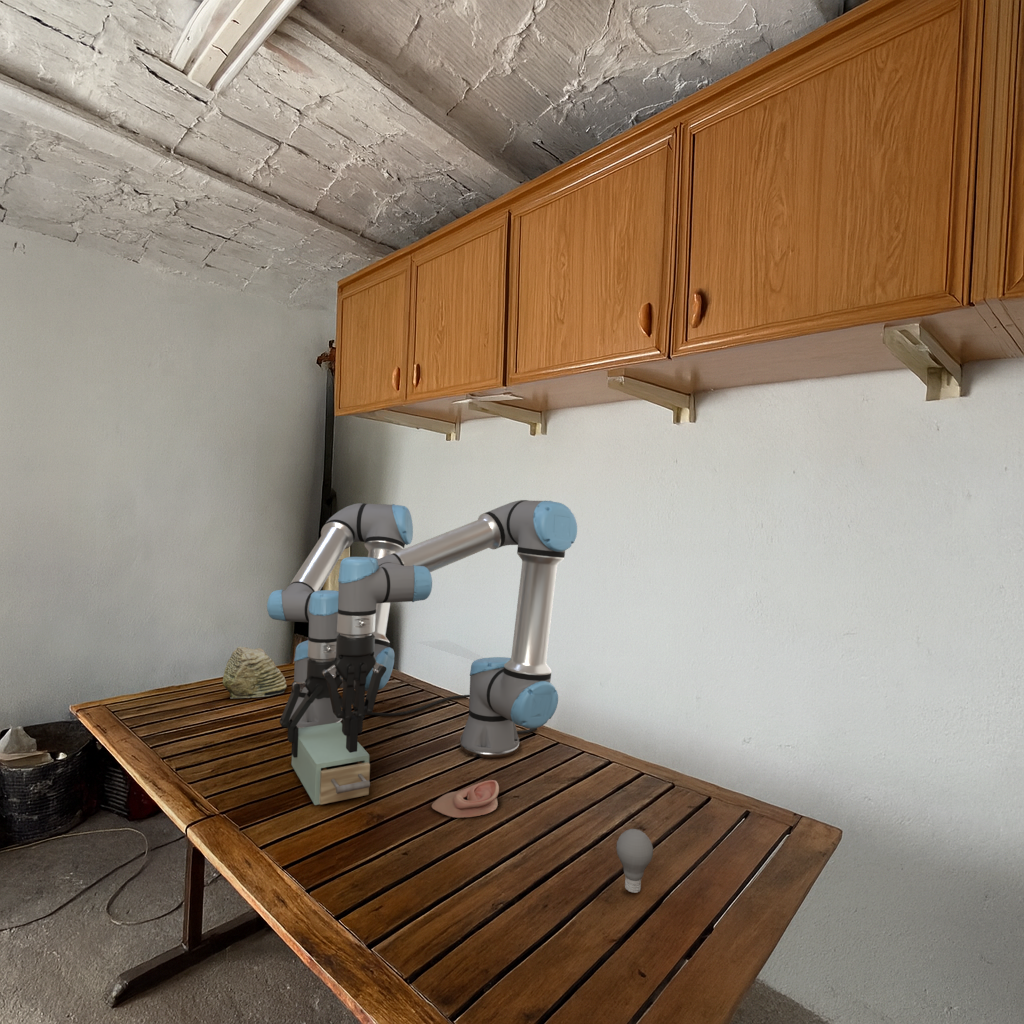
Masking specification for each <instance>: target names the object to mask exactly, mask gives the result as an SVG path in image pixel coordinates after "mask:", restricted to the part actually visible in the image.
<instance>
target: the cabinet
mask: <svg viewBox="0 0 1024 1024" xmlns="http://www.w3.org/2000/svg"><path fill="white" fill-rule="evenodd" d="M298 729H299V730H298V755H297V757H295V758H294V757H293V755H292V754H291V767H292V768H293V770H294V772H295V775H297V777H298V779H299V780H300V783H301V784H302V786H303V788H304V789H305V791H306V793H307V794H308V796H309V798H310V800H311V801H312V803H313V805H314V806H319V805H321V804H320V803H319V797H320V772H321V768H325V767H331V766H336V765H342V764H347V763H353V762H358V761H362V763H366V762H369V763H370V754H369V753H368V752H367V750H365V748H364V747H363V746H362V745H361V743H360V742H359V741H358V742H357V752H351V753H350V752H349V751H348V750H347V749H346V736H345V735H344V734H343V732H342V723H341V722H337V723H331V724H324V725H317V726H310V727H303V728H298Z"/></svg>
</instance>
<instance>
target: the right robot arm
mask: <svg viewBox="0 0 1024 1024" xmlns="http://www.w3.org/2000/svg"><path fill="white" fill-rule="evenodd" d="M577 536H578V523H577V520H576V516H575V514H574V513H573V512H572V510H571V508H570V507H568V506H567V505H566V504H564V503H562V502H558V501H553V500H529V499H528V500H527V499H520V500H515V501H511V502H509V503H506V504H503V505H500V506H498V507H496V508H494V509H491V510H489V511H486V512H484V513H481V514H480V515H479V516H478V518H477V519H476V520H475V521H471V522H469V523H466V524H464V525H462V526H459V527H456V528H454V529H452V530H449V531H446V532H444V533H441V534H439V535H436V536H433V537H431V538H428V539H426V540H424V541H421V542H419V543H415V544H413V545H411V546H408V547H404V549H403V550H400V551H398V552H395V553H393V554H390V555H387V556H384V557H382V558H379V559H378V558H371V557H368V556H347V557H345V558H342V560H341V561H340V564H339V572H338V579H337V582H338V591H339V592H338V619H337V632H338V633H339V635H338V636H337V642H336V658H335V660H334V662H333V666H331V667H330V668H329V669H327V670H326V669H324V670H323V671H322V675H323V676H324V678H325V679H326V681H327V686H328V690H329V695H330V700H331V705H332V709H333V713H334V715H335V716H336V717H337V718H342V732H343V734H344V735H345V736H346V749H347V750H348V751H349V752H350V753H351V752H357V742H359V741H358V739H359V734H362V733H363V728H364V727H363V726H364V719H365V718H366V716H368V715H367V714H371V713H372V712H374V711H373V710H374V708H375V704H376V700H377V697H378V692H379V690H378V689H379V685H380V681H381V678H382V676H383V675H384V673H385V672H386V667H385V666H383V665H382V664H379V663H377V662H376V658H375V656H374V647H375V636H374V635H373V634H372V633H374V632H375V619H376V604H377V603H390V604H391V603H409V602H410V603H411V602H412V603H415V602H419V601H425V600H427V599H428V598H429V597H430V596H431V593H432V590H433V577H432V574H431V573H432V572H434V571H437V570H440V569H442V568H444V567H446V566H449V565H451V564H454V563H456V562H458V561H461V560H463V559H465V558H468V557H470V556H473V555H475V554H477V553H481V552H482V551H484V550H488V549H491V550H497V549H499V548H503V547H506V546H517V548H516V549H517V551H516V554H517V555H518V557H519V559H521V571H520V579H519V586H518V587H519V588H518V596H517V603H516V604H517V605H516V613H515V622H514V630H513V639H512V647H511V648H512V649H511V655H510V656H511V657H505V656H494V657H481V658H478V659H475V660H473V661H472V663H471V666H470V672H469V695H470V696H469V697H468V698H469V699H468V718H467V720H466V722H465V726H464V729H463V731H462V733H461V735H460V738H459V739H460V749H461V750H462V751H463V752H464V753H465V754H467V755H470V756H472V757H477V758H481V759H501V758H507V757H510V756H512V755H515V754H516V753H518V751H519V749H520V737H519V735H525V734H526V735H527V734H530V733H533V732H536V731H538V729H539V728H541V727H543V726H544V725H546V724H547V723H548V721H549V720H551V719H552V717H553V716H554V715H555V712H556V711H557V708H558V704H559V693H558V690H557V689H556V687H555V685H554V684H552V683H551V679H552V669H551V667H550V666H549V664H547V660H548V659H547V658H548V650H549V640H550V632H551V625H552V622H551V621H552V616H553V606H554V597H555V589H556V580H557V571H558V566H559V564H560V563H562V562H563V561H564V560H565V555H566V551H567V550H569V549H570V548H572V544H574V543H575V542H576V539H577ZM372 668H373V670H372ZM336 670H337V672H338V673H339V674H340V676H341V677H342V678H343V688H342V698H343V699H342V708H341V705H340V700H339V695H338V693H339V691H338V690H339V689H338V690H337V686H336V682H335V680H334V678H335V677H336V673H335V672H336ZM371 670H372V671H373V674H372V676H371V680H370V684H369V687H368V691H365V684H366V677H367V675H368V674H369V672H370V671H371ZM354 680H355V683H356V684H355V689H354V690H355V711H354V710H352V709H353V705H352V688H353V683H354ZM365 694H366V695H365ZM341 709H342V710H341ZM351 711H352V712H353V711H354V713H355V715H353V716H351ZM517 726H519V727H523V728H525V729H524V730H523V729H522V730H517Z"/></svg>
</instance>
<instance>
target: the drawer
mask: <svg viewBox="0 0 1024 1024" xmlns="http://www.w3.org/2000/svg"><path fill="white" fill-rule="evenodd" d="M370 775H371V763H370V761H369V762H366V763H362V761H358V762H353V763H347V764H342V765H336V766H331V767H325V768H321V772H320V797H319V803H320V804H319V805H326V804H330V803H336V802H340V801H346V800H350V799H355V798H359V797H363V796H369V795H370V787H371V782H370Z"/></svg>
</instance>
